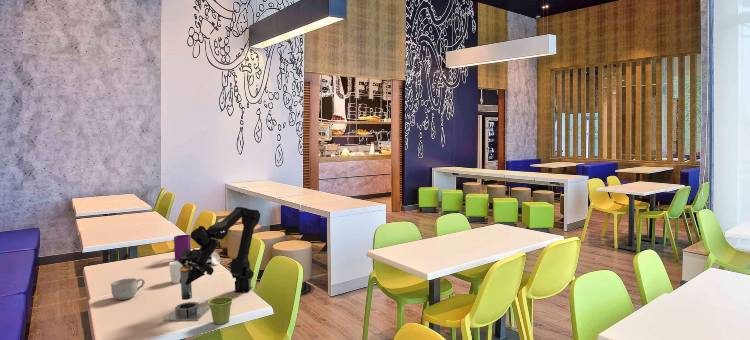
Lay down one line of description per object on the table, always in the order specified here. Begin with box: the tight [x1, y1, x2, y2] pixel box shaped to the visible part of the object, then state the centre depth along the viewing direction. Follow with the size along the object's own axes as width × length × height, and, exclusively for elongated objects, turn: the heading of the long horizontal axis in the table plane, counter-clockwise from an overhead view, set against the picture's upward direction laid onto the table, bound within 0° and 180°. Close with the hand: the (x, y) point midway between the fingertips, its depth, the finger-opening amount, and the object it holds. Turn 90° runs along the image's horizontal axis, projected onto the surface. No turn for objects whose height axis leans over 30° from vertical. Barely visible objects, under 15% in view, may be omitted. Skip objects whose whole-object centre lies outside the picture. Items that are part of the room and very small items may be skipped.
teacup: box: [110, 277, 146, 301], centre depth 219 cm, size 14×11×8 cm
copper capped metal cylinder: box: [180, 266, 193, 301], centre depth 196 cm, size 4×4×13 cm
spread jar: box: [206, 250, 221, 266], centre depth 274 cm, size 12×11×12 cm
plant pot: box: [207, 296, 234, 325], centre depth 188 cm, size 9×9×9 cm
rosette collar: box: [162, 301, 211, 322], centre depth 197 cm, size 14×14×4 cm
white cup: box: [168, 260, 183, 284], centre depth 241 cm, size 8×8×10 cm
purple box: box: [173, 234, 192, 261], centre depth 284 cm, size 9×16×15 cm, turn 34°
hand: (183, 283), depth 195 cm, fingers closed on copper capped metal cylinder, 4 cm apart
